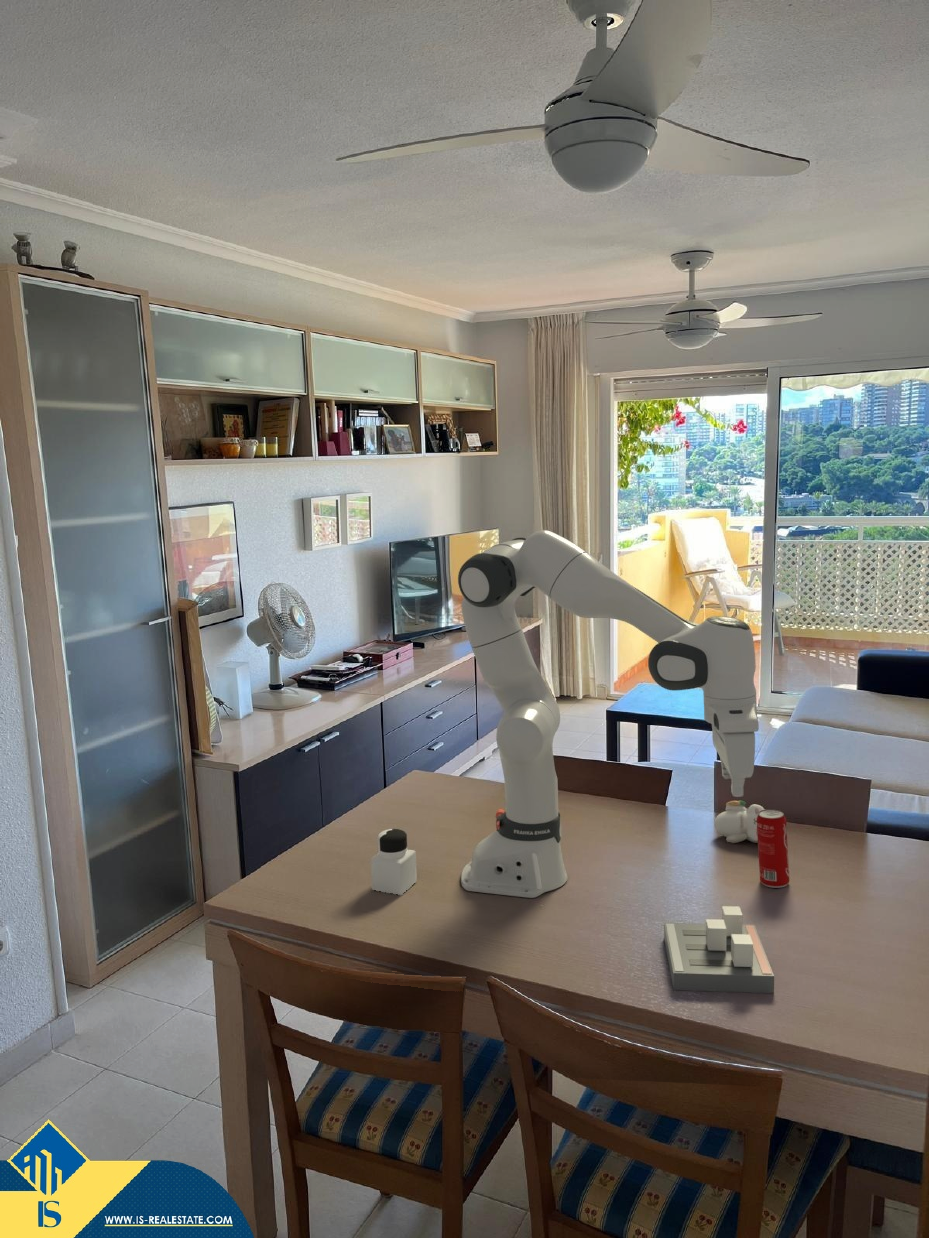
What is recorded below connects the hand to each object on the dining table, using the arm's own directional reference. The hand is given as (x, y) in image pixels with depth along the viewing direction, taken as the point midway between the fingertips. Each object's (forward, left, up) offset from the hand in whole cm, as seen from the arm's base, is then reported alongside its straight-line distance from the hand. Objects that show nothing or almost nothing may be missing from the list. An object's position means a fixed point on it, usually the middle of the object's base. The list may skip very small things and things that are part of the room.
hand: (732, 786), depth 160 cm
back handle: (0, -3, -26) cm, 26 cm away
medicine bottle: (-66, +19, -29) cm, 75 cm away
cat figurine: (+11, +46, -29) cm, 56 cm away
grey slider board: (-4, -8, -29) cm, 30 cm away
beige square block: (-4, -8, -26) cm, 27 cm away
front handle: (0, -13, -26) cm, 29 cm away
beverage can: (+12, +24, -29) cm, 40 cm away
